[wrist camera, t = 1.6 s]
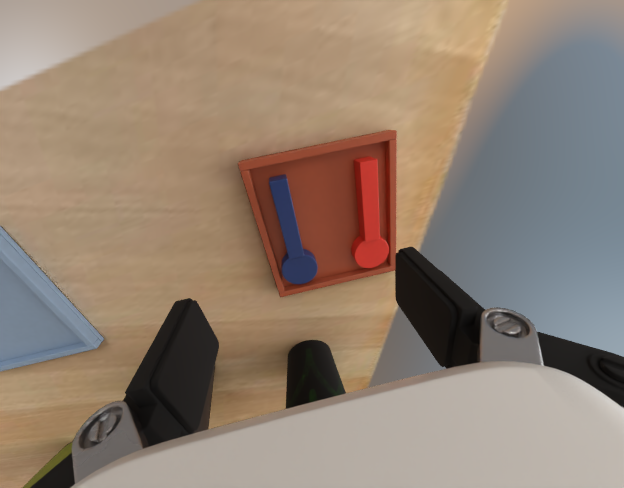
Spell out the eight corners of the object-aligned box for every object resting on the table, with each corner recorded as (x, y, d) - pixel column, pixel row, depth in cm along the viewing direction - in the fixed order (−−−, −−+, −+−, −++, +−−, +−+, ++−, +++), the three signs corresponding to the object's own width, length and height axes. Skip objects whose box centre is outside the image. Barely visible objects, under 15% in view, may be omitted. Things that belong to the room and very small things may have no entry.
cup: (316, 378, 33) (337, 500, 22) (268, 365, 30) (265, 498, 20) (349, 344, 30) (390, 463, 20) (300, 326, 28) (317, 454, 17)
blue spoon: (256, 179, 19) (255, 184, 17) (298, 171, 19) (300, 175, 17) (285, 280, 24) (286, 290, 22) (318, 273, 24) (321, 282, 22)
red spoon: (341, 161, 19) (346, 165, 18) (381, 153, 19) (390, 156, 18) (352, 265, 24) (357, 274, 23) (384, 257, 24) (391, 266, 23)
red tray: (239, 160, 18) (237, 163, 17) (389, 129, 19) (396, 130, 18) (279, 289, 25) (280, 297, 24) (391, 263, 25) (396, 270, 24)
